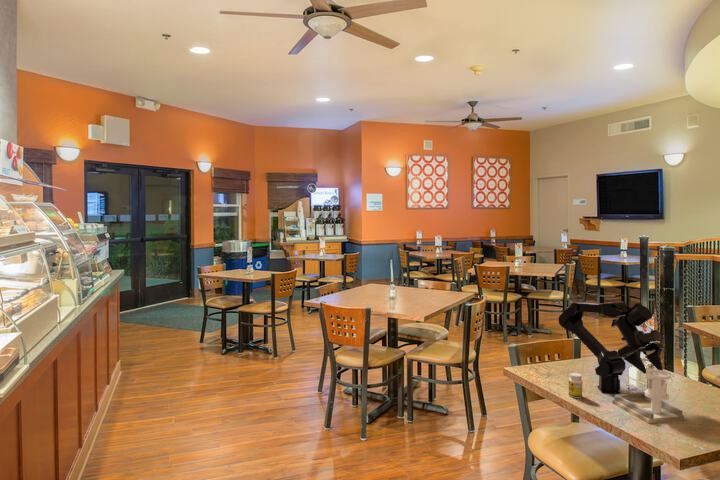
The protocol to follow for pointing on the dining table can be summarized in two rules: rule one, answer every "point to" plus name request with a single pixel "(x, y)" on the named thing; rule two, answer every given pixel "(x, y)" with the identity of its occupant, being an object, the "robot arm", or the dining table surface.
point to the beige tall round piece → (657, 388)
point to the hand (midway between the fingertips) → (653, 372)
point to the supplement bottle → (575, 385)
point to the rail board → (646, 408)
